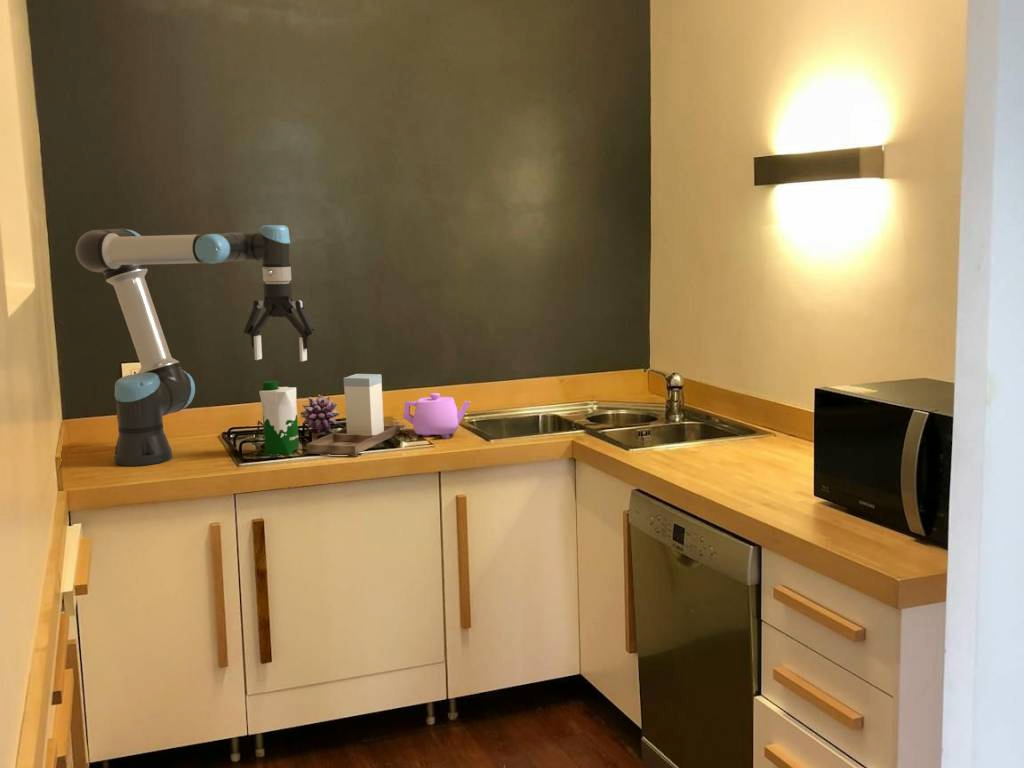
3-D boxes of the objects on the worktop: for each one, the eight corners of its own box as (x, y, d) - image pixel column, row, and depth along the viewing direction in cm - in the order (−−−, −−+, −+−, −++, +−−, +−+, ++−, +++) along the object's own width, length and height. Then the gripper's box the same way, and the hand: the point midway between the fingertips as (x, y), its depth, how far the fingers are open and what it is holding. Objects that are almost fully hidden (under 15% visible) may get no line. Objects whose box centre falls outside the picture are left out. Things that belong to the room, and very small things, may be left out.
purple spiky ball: (293, 436, 318) (291, 397, 316) (314, 428, 329) (312, 390, 327) (327, 438, 314) (325, 398, 312) (347, 430, 325) (345, 392, 323)
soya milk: (273, 448, 301) (269, 379, 298) (303, 449, 300) (299, 379, 297) (260, 455, 293) (255, 384, 290) (291, 456, 291) (286, 384, 288)
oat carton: (347, 439, 307) (343, 378, 305) (359, 433, 315) (356, 373, 312) (372, 440, 305) (369, 378, 302) (384, 434, 312) (381, 374, 310)
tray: (306, 454, 292) (306, 444, 292) (354, 433, 319) (354, 423, 319) (355, 457, 287) (355, 446, 287) (400, 435, 315) (399, 425, 314)
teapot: (401, 441, 307) (399, 397, 305) (406, 432, 319) (404, 390, 317) (470, 439, 306) (468, 396, 304) (473, 430, 318) (471, 389, 316)
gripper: (229, 283, 287) (233, 360, 291) (313, 283, 281) (316, 363, 285) (242, 281, 295) (246, 356, 298) (325, 281, 288) (328, 359, 292)
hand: (280, 360), depth 291 cm, fingers open, 13 cm apart
